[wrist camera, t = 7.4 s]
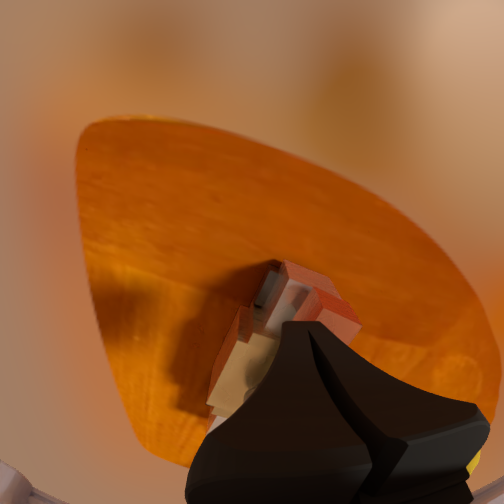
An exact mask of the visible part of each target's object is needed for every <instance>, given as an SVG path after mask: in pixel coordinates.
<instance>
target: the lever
mask: <svg viewBox="0 0 504 504" xmlns="http://www.w3.org/2000/svg"><path fill="white" fill-rule="evenodd" d="M292 321H320V322H321V323H322V324H324V325H325V326H326V327H327V328H328V329H329V330H330V331H331V332H332V333H333V334H335V335H336V336H337V337H338V338H339V339H340V340H341V341H342V342H344V343H345V344H346V345H347V346H348V345H349V344H350V342H351V341H352V340H353V338H354V337H355V336H356V334H357V333H358V331H359V330H360V329H361V327H362V324H361V323H360V321H359V319H358V318H357V316H356V314H355V313H354V311H353V309H352V308H351V306H350V305H349V303H348V302H346V301H344V300H342V299H340V298H337V297H335V296H333V295H331V294H329V293H327V292H325V291H323V290H321V289H319V288H317V287H315V286H313V288H312V290H311V291H310V293H309V294H308V296H307V298H306V299H305V301H304V302H303V304H302V306H301V307H300V309H299V310H298V312H297V313H296V315H295V316H294V318H293V319H292ZM257 387H258V385H257V386H254V387H252V388H250V389H248V390H247V391H246V393H245V394H244V398H243V403H244V402H245V401H246V400H247V399H248V398H249V397H250V396H251V394H252V393H253V392H254V390H255V389H256V388H257Z"/></svg>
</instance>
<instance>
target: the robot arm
mask: <svg viewBox="0 0 504 504" xmlns="http://www.w3.org/2000/svg"><path fill="white" fill-rule="evenodd" d="M489 432H490V424H489V422H488V421H487V420H486V418H485V417H484V415H483V414H482V412H481V411H480V410H479V408H478V407H477V405H476V404H474V403H469V402H464V401H459V400H454V399H450V398H446V397H442V396H439V395H436V394H433V393H429V392H426V391H424V390H421V389H419V388H416V387H414V386H411V385H409V384H407V383H405V382H403V381H400V380H398V379H396V378H394V377H392V376H391V375H389V374H387V373H385V372H384V371H382V370H380V369H379V368H377V367H375V366H374V365H372V364H371V363H369V362H368V361H367V360H365V359H364V358H362V357H361V356H360V355H358V354H357V353H356V352H355V351H353V350H352V349H351V348H350V347H348V346H347V345H346V344H345V343H344V342H342V341H341V340H340V339H339V338H338V337H337V336H336V335H335V334H333V333H332V332H331V331H330V330H329V329H328V328H327V327H326V326H325V325H324V324H322V323H321V322H320V321H284V322H283V323H282V328H281V339H280V345H279V348H278V351H277V353H276V355H275V358H274V360H273V362H272V364H271V366H270V368H269V370H268V371H267V373H266V375H265V376H264V378H263V379H262V381H261V382H260V384H259V385H258V387H257V388H256V389H255V390H254V392H253V393H252V394H251V396H250V397H249V398H248V399H247V400H246V401H245V402H244V403H243V404H242V405H241V406H240V407H239V408H238V409H237V410H236V411H235V412H234V413H233V414H232V415H231V416H230V417H229V418H228V419H226V420H225V421H224V422H223V423H221V424H220V425H219V426H217V427H216V428H215V429H213V430H212V431H211V432H209V433H208V434H207V435H206V437H205V439H204V440H203V442H202V444H201V446H200V447H199V449H198V451H197V453H196V455H195V457H194V459H193V462H192V464H191V467H190V470H189V473H188V477H187V483H186V488H185V499H186V502H187V504H504V476H502V477H501V478H499V479H497V480H495V481H493V482H492V483H490V484H488V485H486V486H484V487H482V488H480V489H478V490H476V491H474V492H472V493H471V491H470V489H469V488H468V485H467V483H466V480H467V479H468V478H469V476H470V474H469V472H468V470H467V468H466V467H467V465H468V464H469V463H470V462H471V460H472V459H473V458H474V457H475V455H476V454H477V453H478V452H479V450H480V449H481V448H482V446H483V445H484V443H485V442H486V440H487V438H488V435H489ZM0 504H69V503H66V502H64V501H62V500H59V499H57V498H55V497H53V496H51V495H48V494H46V493H44V492H42V491H40V490H38V489H36V488H34V487H33V486H32V484H31V483H30V482H29V481H28V479H27V478H25V476H23V474H21V473H20V472H19V471H18V470H16V469H15V468H13V467H11V466H10V465H8V464H6V463H4V462H3V461H1V460H0Z"/></svg>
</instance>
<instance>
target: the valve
mask: <svg viewBox="0 0 504 504" xmlns="http://www.w3.org/2000/svg"><path fill="white" fill-rule="evenodd" d="M313 286H315V287H317V288H319V289H321V290H323V291H325V292H327V293H329V294H331V295H333V296H335V297H337V298H340V299H341V297H340V295H339V294H338V292H337V290H336V289H335V287H334V285H333V284H332V282H331V280H330V279H329V277H326V276H324V275H321V274H319V273H317V272H314V271H312V270H309V269H307V268H304V267H302V266H299V265H297V264H294V263H292V262H289V261H287V260H285V259H284V260H283V262H282V264H281V266H280V268H278V267H276V266H273V265H271V264H269V266H268V268H267V270H266V272H265V274H264V276H263V279H262V281H261V283H260V285H259V287H258V289H257V292H256V294H255V298H253V300H252V302H251V304H250V307H249V308H248V307H246V306H243V305H240V307H239V309H238V312H237V314H236V316H235V318H234V320H233V323H232V325H231V327H230V329H229V331H228V333H227V336H226V338H225V340H224V342H223V344H222V347H221V349H220V351H219V353H218V355H217V357H216V360H215V362H214V364H213V369H212V374H211V380H210V385H209V390H208V394H207V399H206V405H209V406H211V407H210V413H209V419H208V425H207V431H206V435H207V434H208V433H209V432H211V431H212V430H213V429H215V428H216V427H217V426H219V425H220V424H221V423H223V422H224V421H225V420H226V419H228V418H229V417H230V416H231V415H232V414H233V413H234V412H235V411H236V410H237V409H238V408H239V407H240V406H241V405H242V404H243V398H244V394H245V393H246V391H247V390H248V389H250V388H252V387H254V386H257V385H259V384H260V382H261V381H262V379H263V378H264V376H265V375H266V373H267V371H268V370H269V368H270V366H271V364H272V362H273V360H274V358H275V355H276V353H277V351H278V348H279V345H280V339H281V328H282V323H283V322H284V321H292V319H293V318H294V316H295V315H296V313H297V312H298V310H299V309H300V307H301V306H302V304H303V302H304V301H305V299H306V298H307V296H308V294H309V293H310V291H311V290H312V288H313Z"/></svg>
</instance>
